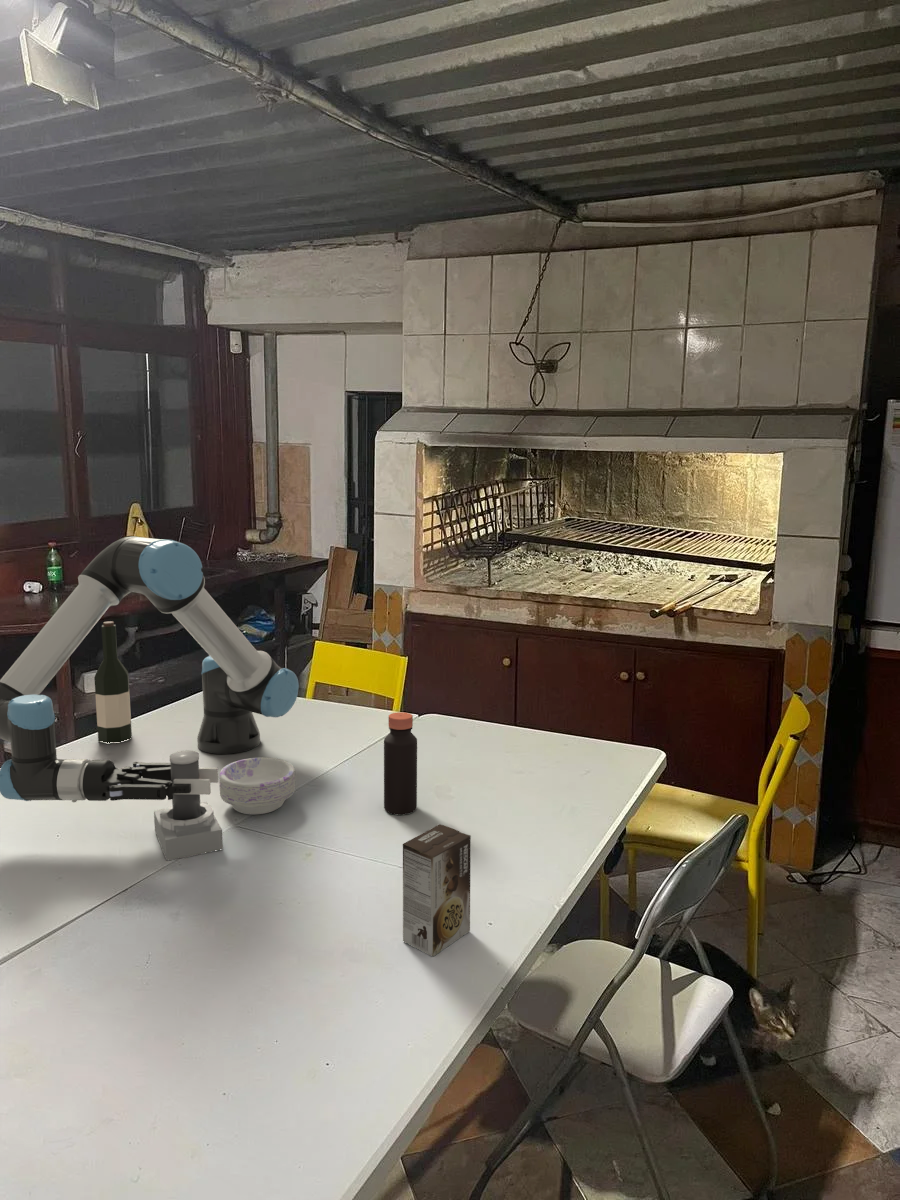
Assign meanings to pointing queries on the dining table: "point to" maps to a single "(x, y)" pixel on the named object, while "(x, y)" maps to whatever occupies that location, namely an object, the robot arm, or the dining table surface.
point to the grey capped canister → (185, 768)
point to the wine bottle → (112, 691)
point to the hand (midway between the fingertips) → (213, 780)
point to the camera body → (187, 833)
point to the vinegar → (400, 765)
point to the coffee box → (436, 889)
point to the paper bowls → (257, 784)
